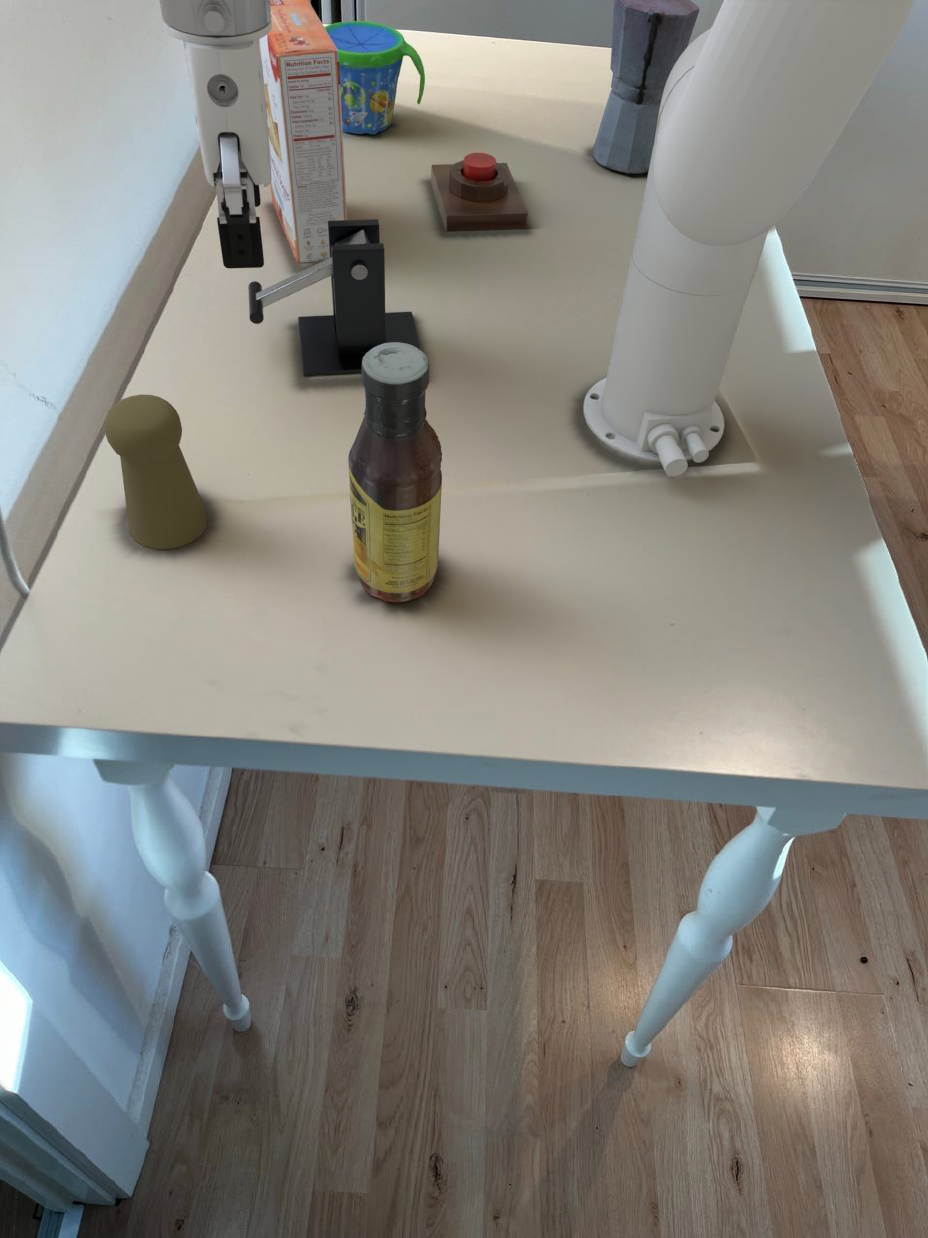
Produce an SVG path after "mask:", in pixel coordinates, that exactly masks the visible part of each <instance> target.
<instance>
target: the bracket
mask: <svg viewBox="0 0 928 1238" xmlns="http://www.w3.org/2000/svg"><path fill="white" fill-rule="evenodd" d="M361 230H364V231H365V233H366V235H367V237H368V239H369V241H370V243H371V244H346V245H335V243H336V242H338V241H340V240H343V239H345V238H347V237H349V236H351V235H353V234H355V233H357V232H359V231H361ZM380 234H381V233H380V221H379V218H373V219H371V218H370V219H347V220H337V221H328V236H329V252H330V258H331V257H332V269H333V275H331V276H330V281H331V282H330V283H331V297H332V298H331V300H332V314H330V315H307V316H303V315H302V316H298V317H297V322H298V334H299V342H300V343H299V344H300V352H301V353H300V355H301V362H302V364H301V365H302V374H303V375H302V376H303V377H305V378H309V377H324V376H327V377H328V376H342V375H343V376H344V375H362V359H363V357H364V356H365V354H366V353H367V352H369V351H370V350H371V349H373V348H374V347H376V346H378V345H381V344H384V343H391V342H399V343H405V344H409V345H412V346H415V347H416V348H418V349H419V350H420V351H422V350H421V347H420V342H419V338H418V333H417V329H416V325H415V320H414V316H413V312H412V311H394V312H393V311H392V312H386V263H385V262H386V261H385V260H386V258H385V257H386V256H385V255H386V253H385V245H384V243H383V242H381V241H380V240H381V239H380Z"/></svg>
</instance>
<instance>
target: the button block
mask: <svg viewBox="0 0 928 1238" xmlns="http://www.w3.org/2000/svg"><path fill="white" fill-rule="evenodd" d="M463 167H464V159H463V160H460V161H457V162H455V163H448V164H447V163H446V164H431V170H430V171H431V175H430V176H431V177H430V183H431V187H432V190H433V194H434V197H435V201H436V205H437V208H438V210H439V215H440V217H441V221H442V225H443V228H444V231H445V233H458V232H485V231H488V232H489V231H515V230H516V231H519V230H527V224H528V215H529V214H528V211H527V209H526V206H525V204H524V201H523V199H522V197H521V194H520V192H519V189H518V186H517V184H516V182H515V180H514V177H513V175H512V173H511V170H510V167H509V165H508V163H507V162H498V161H496V171H495V178H494V179H492V180H490V181H474V180H469V179H467V178H465V177H464V176H463Z"/></svg>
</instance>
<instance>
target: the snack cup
mask: <svg viewBox="0 0 928 1238" xmlns="http://www.w3.org/2000/svg"><path fill="white" fill-rule="evenodd" d="M324 27H325V29H326V31H327V33H328V34H329V36H330V38H331V39H332V41H333V43H334V44H335V46H336V48H337V50H338V53H339V72H340V90H341V112H342V132H344V133H349V134H350V133H351V134H356V135H362V134H363V135H364V134H368V135H374V136H375V135H377V134H378V133H380V132H384V131H385V130H387V129H388V128H389V127H391V125H392V122H393V120H394V119H393V118H394V111H395V104H396V97H397V88H398V83H399V77H400V74H401V69H402V65H403V60H404V57H409V58H410V59H411V61H412V63H413V65H414V67H415V69H416V71H417V73H418V75H419V76H420V77H419V89H418V98H417V100H416V103H417V104H418V105H421V103H422V99H423V95H424V90H425V84H426V73H425V68H424V64H423V61H422V58H421V56H420V54H419V53H418V51H417V50H416V49H415V48H414V47H413V46H412V45H411V44H410V43H408V42H406V40H405V38H404V35H403V34H402V33H401V32H400V31H398V30H397V29H395V28H393V27H391V26H388V25H386V24H381V23H378V22H372V21H365V20H349V21H348V20H347V21H340V22H335V23H331V24H327V25H326V26H324Z"/></svg>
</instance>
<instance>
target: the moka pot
mask: <svg viewBox="0 0 928 1238" xmlns="http://www.w3.org/2000/svg"><path fill="white" fill-rule="evenodd" d="M699 13H700V7H699V6H698V5H697V4H695V2H693V0H613V14H612V15H613V19H612V31H611V32H612V33H611V34H612V35H611V53H610V70H611V73H612V76H611V83H610V89H611V90H610V92H609V93H608V94H609V95H608V98H607V101H606V105H605V108H604V111H603V115H602V117H601V121H600V125H599V128H598V132H597V135H596V138H595V142H594V145H593V149H592V158H593V159H594V160H595V161H596V163H598V164H600V165H601V167H605V168H606V169H610V170H612V171H617V172H619V173H623V174H624V173H625V174H629V175H630V174H636V175H637V174H638V175H639V174H645V173H648V172H649V166H650V161H651V155H652V150H653V146H654V140H655V133H656V127H657V121H658V115H659V109H660V104H661V99H662V95H663V91H664V88H665V85H666V82H667V79H668V77H669V75H670V72H671V71H672V69H673V67H674V65H675V63H676V62H677V60H678V58H679V57H680V56H681V54H682V53H683V52H684V50H685V49H686V48H687V47H688V46H689V44H690V41H691V37H692V34H693V31H694V28H695V26H696V22H697V19H698V16H699Z"/></svg>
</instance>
